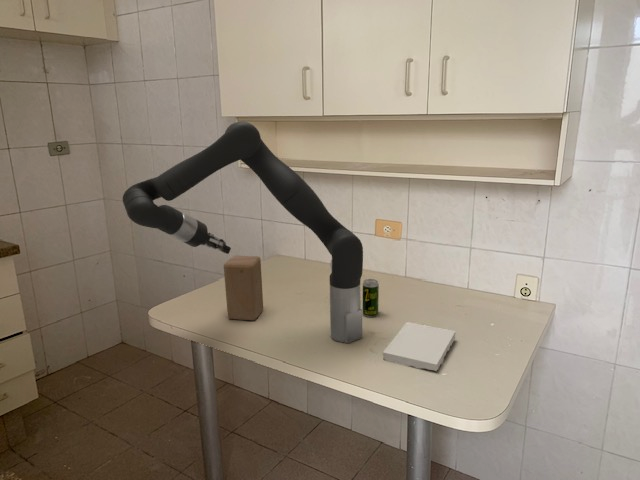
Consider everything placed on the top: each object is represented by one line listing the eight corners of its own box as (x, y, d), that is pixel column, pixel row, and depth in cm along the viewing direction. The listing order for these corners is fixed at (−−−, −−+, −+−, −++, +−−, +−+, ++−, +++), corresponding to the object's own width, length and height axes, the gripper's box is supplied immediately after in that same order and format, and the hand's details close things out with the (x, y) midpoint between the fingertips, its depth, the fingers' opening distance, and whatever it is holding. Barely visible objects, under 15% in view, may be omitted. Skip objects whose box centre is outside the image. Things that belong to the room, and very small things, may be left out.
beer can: (361, 311, 160) (361, 279, 157) (377, 311, 161) (377, 278, 157) (363, 318, 155) (363, 284, 152) (379, 317, 155) (379, 284, 152)
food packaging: (436, 375, 122) (455, 341, 139) (436, 364, 122) (455, 331, 138) (383, 362, 130) (406, 331, 146) (383, 352, 129) (407, 321, 145)
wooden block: (255, 321, 155) (251, 264, 149) (226, 319, 157) (222, 263, 151) (264, 309, 164) (261, 255, 159) (237, 307, 166) (233, 254, 161)
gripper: (206, 220, 129) (247, 243, 142) (178, 214, 137) (219, 236, 150) (195, 245, 127) (237, 266, 141) (168, 237, 135) (210, 257, 149)
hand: (228, 250), depth 145 cm, fingers closed
